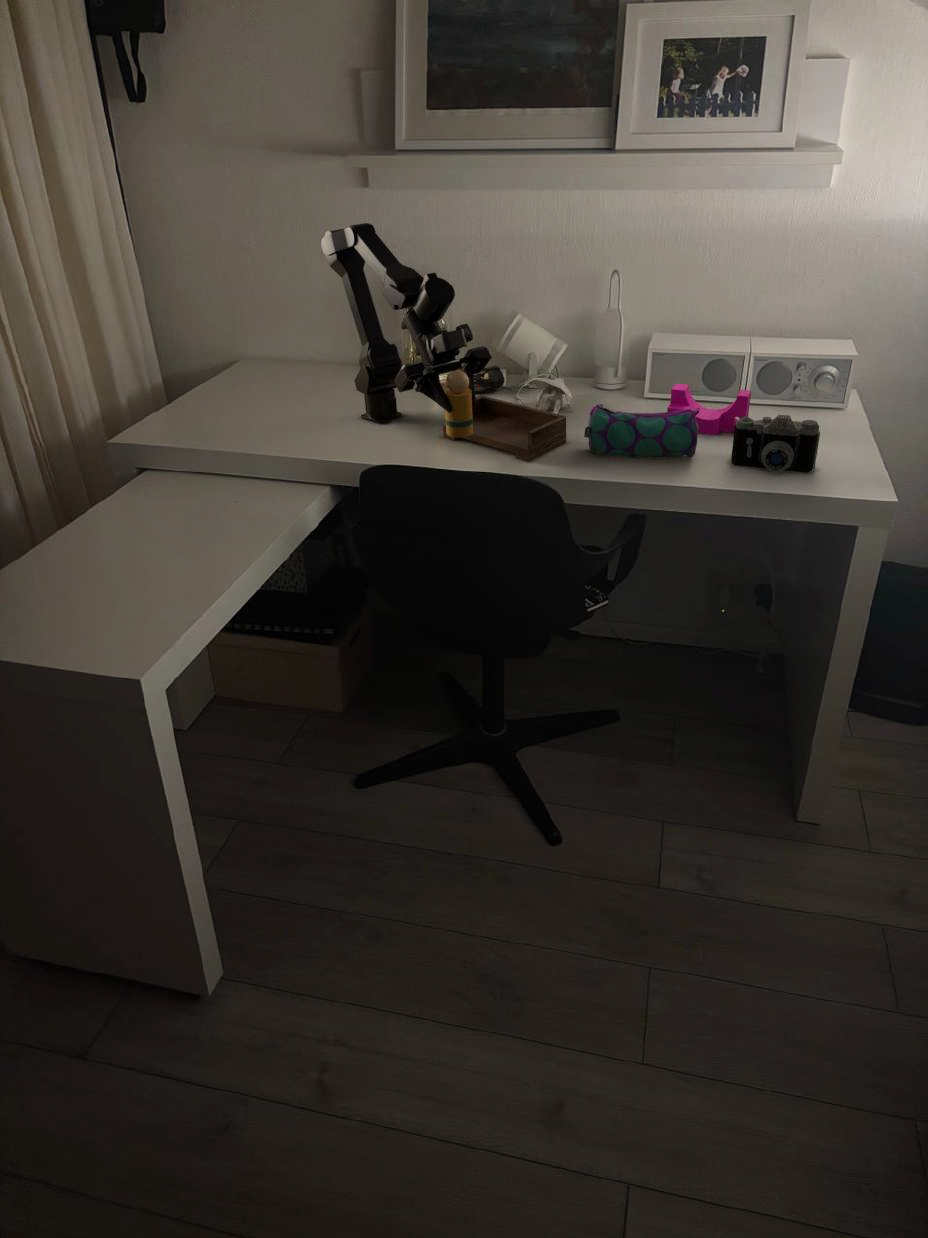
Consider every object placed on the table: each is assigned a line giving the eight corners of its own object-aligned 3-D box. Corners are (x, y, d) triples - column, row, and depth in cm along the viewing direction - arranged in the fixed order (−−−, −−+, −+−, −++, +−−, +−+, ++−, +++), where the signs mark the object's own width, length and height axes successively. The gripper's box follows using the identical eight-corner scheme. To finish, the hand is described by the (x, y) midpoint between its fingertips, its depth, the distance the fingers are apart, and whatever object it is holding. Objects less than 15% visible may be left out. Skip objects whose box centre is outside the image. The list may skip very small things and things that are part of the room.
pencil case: (583, 461, 184) (584, 412, 179) (588, 443, 191) (589, 396, 186) (695, 466, 180) (700, 416, 175) (696, 448, 187) (700, 399, 182)
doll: (441, 430, 185) (438, 369, 179) (466, 425, 187) (464, 364, 180) (452, 439, 181) (450, 376, 175) (478, 434, 183) (476, 372, 176)
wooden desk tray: (443, 437, 197) (441, 411, 194) (481, 420, 205) (480, 394, 202) (528, 461, 185) (528, 434, 182) (566, 442, 192) (566, 416, 189)
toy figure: (443, 401, 217) (508, 390, 219) (440, 373, 214) (506, 362, 216) (438, 395, 223) (501, 385, 225) (434, 367, 221) (498, 357, 223)
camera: (727, 471, 177) (732, 419, 172) (732, 458, 182) (738, 406, 177) (812, 480, 172) (820, 427, 167) (814, 466, 178) (823, 413, 172)
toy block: (665, 429, 196) (668, 393, 192) (673, 418, 201) (675, 383, 197) (741, 437, 191) (745, 400, 187) (746, 426, 196) (751, 390, 192)
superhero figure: (570, 430, 200) (583, 390, 216) (569, 388, 195) (582, 350, 210) (521, 429, 203) (537, 389, 218) (519, 387, 197) (535, 349, 213)
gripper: (398, 320, 171) (434, 397, 169) (485, 302, 179) (521, 375, 177) (379, 354, 181) (414, 427, 179) (463, 335, 189) (497, 405, 187)
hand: (462, 408), depth 180 cm, fingers closed on doll, 5 cm apart
